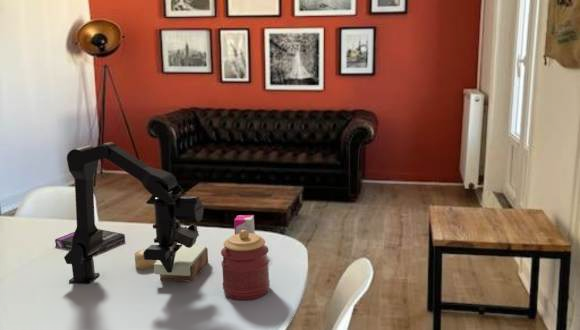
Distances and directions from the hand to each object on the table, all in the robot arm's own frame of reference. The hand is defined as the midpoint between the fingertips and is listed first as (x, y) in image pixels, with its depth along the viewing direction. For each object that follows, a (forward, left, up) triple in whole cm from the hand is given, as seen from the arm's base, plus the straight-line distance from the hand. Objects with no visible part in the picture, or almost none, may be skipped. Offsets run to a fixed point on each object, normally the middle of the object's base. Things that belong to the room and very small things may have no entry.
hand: (169, 272), depth 154 cm
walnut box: (+11, 0, -5) cm, 12 cm away
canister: (0, -22, -5) cm, 23 cm away
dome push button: (+14, +14, -4) cm, 20 cm away
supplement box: (+30, -14, -5) cm, 34 cm away
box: (+31, +42, -5) cm, 52 cm away
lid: (+9, 0, -1) cm, 9 cm away
